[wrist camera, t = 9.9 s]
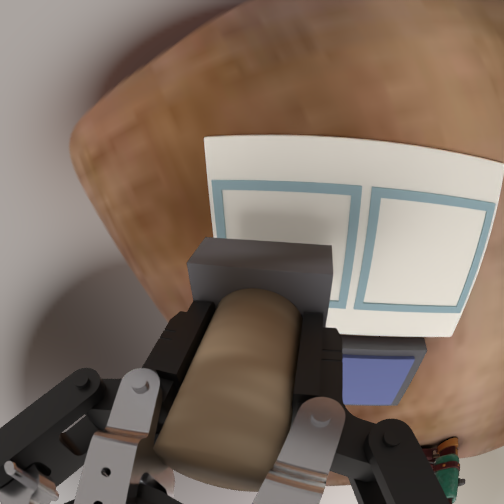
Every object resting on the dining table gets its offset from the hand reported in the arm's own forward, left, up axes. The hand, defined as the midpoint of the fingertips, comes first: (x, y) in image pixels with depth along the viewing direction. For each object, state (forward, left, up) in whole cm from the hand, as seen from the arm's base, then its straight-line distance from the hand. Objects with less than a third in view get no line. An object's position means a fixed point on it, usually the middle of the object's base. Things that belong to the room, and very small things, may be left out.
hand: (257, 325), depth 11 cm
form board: (-4, 0, -6) cm, 8 cm away
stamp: (0, 0, -2) cm, 2 cm away
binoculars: (-20, +29, -7) cm, 36 cm away
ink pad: (-5, +10, -6) cm, 13 cm away
